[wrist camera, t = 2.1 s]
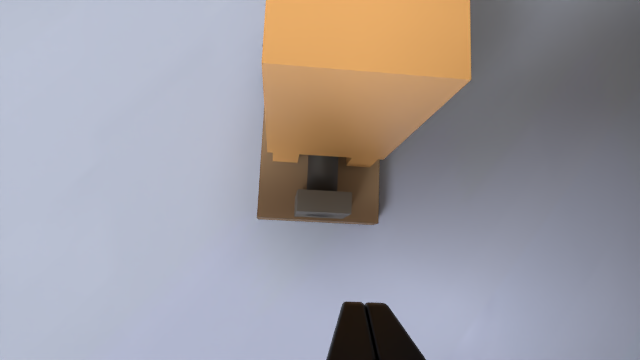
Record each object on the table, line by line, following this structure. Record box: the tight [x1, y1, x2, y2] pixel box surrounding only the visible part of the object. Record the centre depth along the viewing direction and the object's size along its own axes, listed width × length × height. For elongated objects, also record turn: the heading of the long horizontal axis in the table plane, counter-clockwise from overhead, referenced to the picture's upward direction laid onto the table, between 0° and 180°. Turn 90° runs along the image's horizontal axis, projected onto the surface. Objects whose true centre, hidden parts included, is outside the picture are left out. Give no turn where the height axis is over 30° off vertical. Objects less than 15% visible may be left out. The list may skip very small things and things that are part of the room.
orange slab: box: [262, 0, 471, 167], centre depth 14 cm, size 2×4×10 cm, turn 87°
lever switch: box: [257, 107, 380, 225], centre depth 19 cm, size 12×5×5 cm, turn 177°
